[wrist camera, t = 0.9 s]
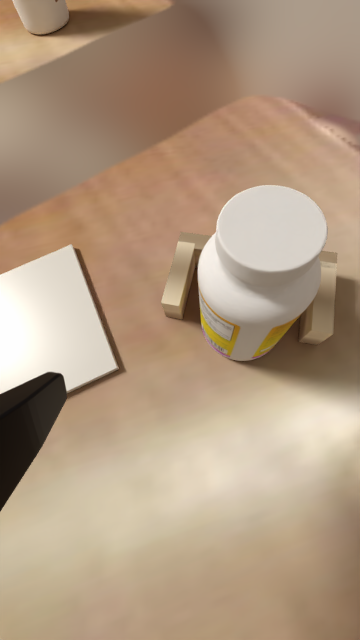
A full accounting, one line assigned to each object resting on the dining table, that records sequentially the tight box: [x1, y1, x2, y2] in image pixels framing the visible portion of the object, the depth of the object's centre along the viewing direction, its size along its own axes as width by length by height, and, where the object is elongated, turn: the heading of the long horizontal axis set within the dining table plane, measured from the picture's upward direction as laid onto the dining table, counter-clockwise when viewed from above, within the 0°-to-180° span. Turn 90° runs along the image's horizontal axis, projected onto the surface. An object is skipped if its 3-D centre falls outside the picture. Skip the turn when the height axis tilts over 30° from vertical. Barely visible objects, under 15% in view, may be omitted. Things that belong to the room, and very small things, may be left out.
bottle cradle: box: [161, 232, 337, 345], centre depth 23 cm, size 7×13×3 cm, turn 77°
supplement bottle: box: [198, 185, 328, 361], centre depth 18 cm, size 7×7×13 cm
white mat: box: [0, 244, 119, 394], centre depth 25 cm, size 14×14×1 cm
